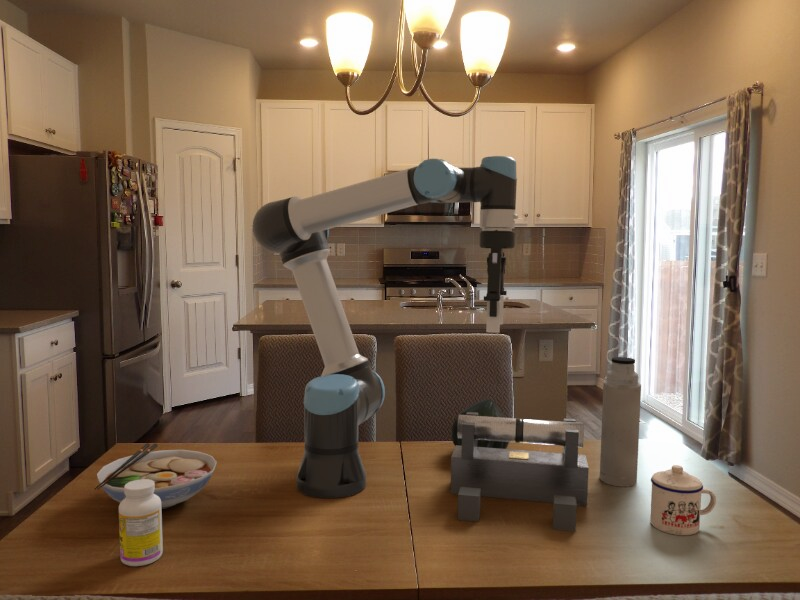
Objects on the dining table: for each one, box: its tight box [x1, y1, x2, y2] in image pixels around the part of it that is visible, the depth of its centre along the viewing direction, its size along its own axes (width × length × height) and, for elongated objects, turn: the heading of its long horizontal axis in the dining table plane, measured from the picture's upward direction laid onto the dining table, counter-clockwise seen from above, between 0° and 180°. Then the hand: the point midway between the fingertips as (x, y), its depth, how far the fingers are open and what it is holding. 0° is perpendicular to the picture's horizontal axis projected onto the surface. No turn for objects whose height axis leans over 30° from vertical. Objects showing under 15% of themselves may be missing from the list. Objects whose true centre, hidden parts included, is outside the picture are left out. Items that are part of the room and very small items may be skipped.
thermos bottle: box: [599, 356, 642, 488], centre depth 144 cm, size 8×8×28 cm
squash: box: [451, 398, 510, 449], centre depth 161 cm, size 14×15×15 cm
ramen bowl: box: [93, 442, 218, 510], centre depth 130 cm, size 25×23×8 cm
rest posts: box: [457, 487, 578, 532], centre depth 123 cm, size 22×4×5 cm, turn 78°
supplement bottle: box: [118, 479, 164, 567], centre depth 107 cm, size 7×7×13 cm
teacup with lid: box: [649, 464, 717, 536], centre depth 122 cm, size 12×9×12 cm
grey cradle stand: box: [450, 412, 589, 507], centre depth 137 cm, size 28×10×16 cm, turn 78°
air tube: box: [457, 414, 585, 448], centre depth 137 cm, size 26×5×5 cm, turn 78°
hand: (494, 328), depth 140 cm, fingers open, 13 cm apart
